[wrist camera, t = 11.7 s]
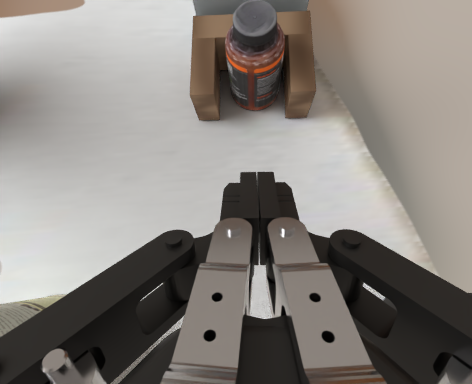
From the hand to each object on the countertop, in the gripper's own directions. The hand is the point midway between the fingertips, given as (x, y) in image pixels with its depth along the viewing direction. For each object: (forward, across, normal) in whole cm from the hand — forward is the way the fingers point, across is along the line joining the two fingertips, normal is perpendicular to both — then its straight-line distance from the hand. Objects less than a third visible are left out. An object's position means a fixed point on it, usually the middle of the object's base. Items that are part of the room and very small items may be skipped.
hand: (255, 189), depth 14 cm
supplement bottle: (+26, -1, +2) cm, 27 cm away
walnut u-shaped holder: (+27, 0, +1) cm, 27 cm away
